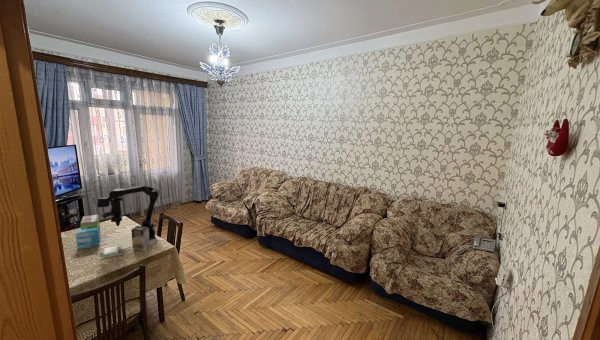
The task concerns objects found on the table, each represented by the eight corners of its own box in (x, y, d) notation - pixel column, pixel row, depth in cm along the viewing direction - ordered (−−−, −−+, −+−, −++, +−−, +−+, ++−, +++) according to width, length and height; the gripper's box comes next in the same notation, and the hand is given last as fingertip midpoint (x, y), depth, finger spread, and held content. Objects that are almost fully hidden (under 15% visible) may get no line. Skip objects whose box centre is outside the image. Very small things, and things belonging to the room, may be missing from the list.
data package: (77, 249, 176) (75, 233, 174) (78, 246, 180) (76, 230, 177) (99, 245, 183) (97, 229, 181) (99, 242, 187) (98, 227, 184)
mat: (122, 248, 181) (122, 247, 180) (121, 255, 172) (121, 254, 172) (101, 252, 174) (101, 251, 174) (99, 259, 166) (99, 259, 166)
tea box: (99, 239, 191) (97, 220, 188) (81, 242, 185) (79, 223, 182) (100, 231, 203) (98, 213, 200) (84, 233, 198) (82, 216, 194)
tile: (118, 245, 179) (118, 251, 172) (118, 247, 180) (118, 254, 173) (104, 247, 175) (103, 254, 168) (104, 250, 176) (103, 257, 168)
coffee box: (132, 250, 179) (130, 229, 176) (138, 245, 185) (136, 225, 182) (144, 251, 179) (143, 230, 175) (150, 246, 185) (149, 226, 182)
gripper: (103, 203, 187) (105, 223, 190) (100, 212, 172) (103, 233, 175) (121, 201, 193) (123, 220, 196) (120, 209, 178) (122, 230, 181)
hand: (117, 226), depth 187 cm, fingers closed
